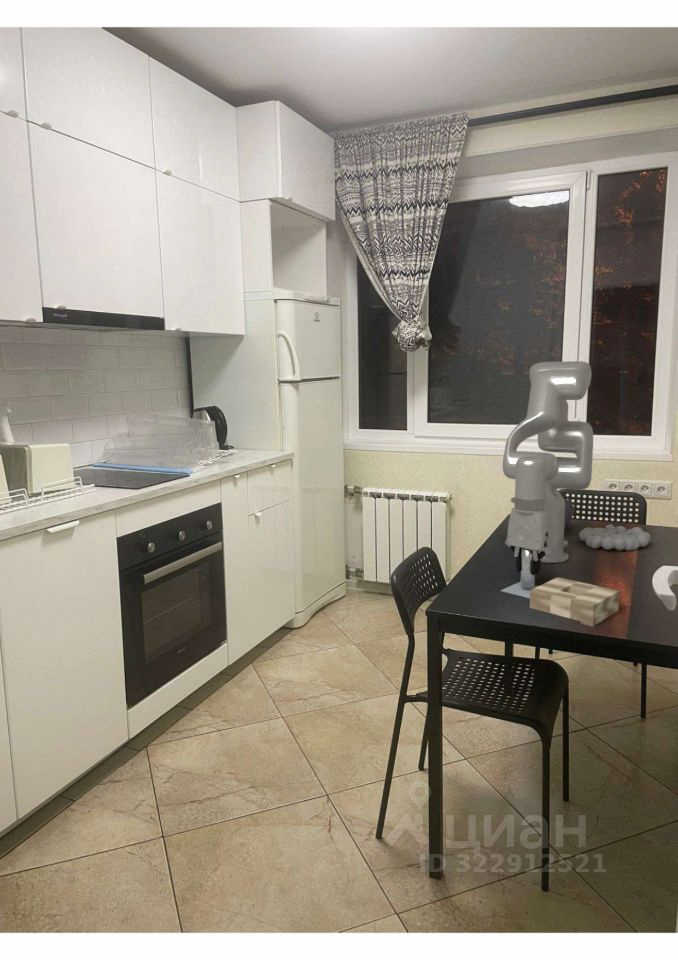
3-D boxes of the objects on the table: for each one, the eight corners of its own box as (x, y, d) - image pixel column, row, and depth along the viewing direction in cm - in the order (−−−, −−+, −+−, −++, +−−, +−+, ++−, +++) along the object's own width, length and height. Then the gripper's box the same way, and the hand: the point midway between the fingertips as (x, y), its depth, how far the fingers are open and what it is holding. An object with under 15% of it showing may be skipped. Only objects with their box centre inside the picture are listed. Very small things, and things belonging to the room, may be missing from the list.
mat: (520, 583, 185) (520, 581, 185) (553, 591, 178) (553, 589, 178) (500, 592, 178) (500, 590, 178) (534, 601, 171) (534, 599, 171)
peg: (524, 582, 181) (526, 538, 179) (537, 585, 178) (538, 541, 176) (517, 585, 178) (519, 541, 176) (530, 588, 176) (531, 544, 174)
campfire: (639, 558, 208) (640, 540, 207) (570, 548, 220) (571, 530, 219) (656, 543, 225) (657, 525, 224) (591, 534, 237) (592, 518, 236)
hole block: (557, 595, 175) (557, 577, 174) (618, 610, 164) (619, 590, 163) (529, 609, 166) (530, 590, 165) (592, 626, 154) (593, 605, 154)
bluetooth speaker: (567, 537, 233) (568, 509, 231) (539, 535, 237) (540, 507, 235) (575, 523, 253) (576, 497, 251) (549, 521, 257) (550, 495, 255)
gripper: (494, 502, 178) (492, 569, 181) (552, 511, 166) (549, 582, 169) (509, 497, 183) (507, 562, 186) (566, 506, 171) (564, 575, 174)
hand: (527, 571), depth 178 cm, fingers closed on peg, 3 cm apart
